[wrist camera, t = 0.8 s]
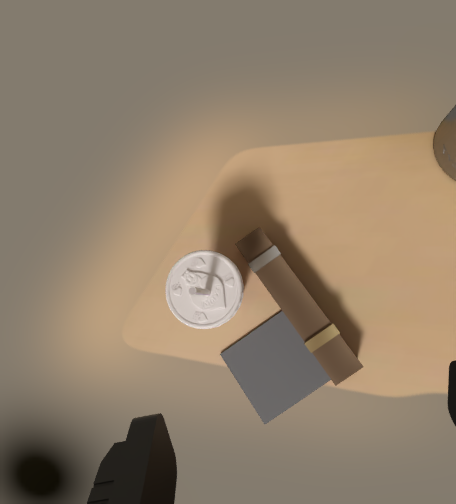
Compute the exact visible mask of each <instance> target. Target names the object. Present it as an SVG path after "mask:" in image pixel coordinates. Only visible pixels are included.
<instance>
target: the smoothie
mask: <svg viewBox="0 0 456 504" xmlns="http://www.w3.org/2000/svg"><path fill="white" fill-rule="evenodd" d="M243 291H244V284H243V280H242V276H241V273H240V272H239V270H238V268H237V266H236V265H235V264H234V263H233V262H232V261H231V260H230V259H229V258H228V257H226V256H224V255H223V254H221V253H217V252H214V251H210V250H199V251H194V252H191V253H189V254H187V255H185V256H184V257H182V258H181V259H180V260H178V261H177V262H176V264H175V265H174V266H173V268H172V269H171V271H170V273H169V275H168V278H167V282H166V299H167V302H168V305H169V308H170V309H171V311H172V313H173V314H174V315H175V317H176V318H177V319H178V320H180V321H181V322H182V323H184V324H186V325H188V326H190V327H193V328H198V329H210V328H214V327H219V326H220V325H222V324H224V323H226V322H228V321H229V320H230V319H231V318H232V317H233V316H234V315H235V314H236V312H237V310H238V309H239V307H240V305H241V302H242V298H243Z"/></svg>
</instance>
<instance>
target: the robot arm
mask: <svg viewBox="0 0 456 504" xmlns="http://www.w3.org/2000/svg"><path fill="white" fill-rule="evenodd" d="M433 148H434V153H435V157H436V159H437V161H438V164H439V165H440V167H441V168H442V169H443V171H444V172H445V173H446V174H447V175H449V176H450V177H451V178H452V179H454V180H455V181H456V105H455V107H454V108H453V109H452V110H451V111H450V113H449V114H448V115H447V116H446V117H445V118H444V120H443V121H442V122H441V124H440V126H439V127H438V129H437V131H436V134H435V137H434V147H433ZM448 410H449V413H450V416H451V418H452V420H453V422H454V424H455V426H456V361H452V362H451V363H450V366H449V385H448ZM176 479H177V465H176V457H175V453H174V449H173V446H172V443H171V440H170V437H169V434H168V430H167V427H166V424H165V421H164V418H163V416H162V414H161V413H160V414H155V415H149V416H143V417H138V418H134V419H133V420H132V422H131V425H130V428H129V431H128V435H127V438H126V441H123V442H118V443H114V445H113V446H112V448H111V449H110V451H109V452H108V453H107V455H106V456H105V457H104V459H103V460H102V462H101V464H100V467H99V470H98V472H97V475H96V478H95V481H94V488H92V490H91V493H90V496H89V498H88V502H87V504H174V500H175V490H176Z"/></svg>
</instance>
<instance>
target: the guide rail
mask: <svg viewBox="0 0 456 504" xmlns="http://www.w3.org/2000/svg"><path fill="white" fill-rule="evenodd" d="M235 245H236V246H237V248H238V249H239V250H240V252H241V253H242V255H243V256H244V257H245V259H246V260H247V262H248V263H249V264H248V265H249V266H250V268H251V269H252V271H253V272H254V273H256V274H257V276H258V277H259V278H260V280H261V281H262V283H263V284H264V286H265V287H266V288H267V290H268V291H269V293H270V294H271V295H272V297H273V298H274V300H275V301H276V302H277V304H278V305H279V307H280V308H281V309H282V311H283V312H284V314H285V315H286V317H287V318H288V319H289V321H290V322H291V324H292V325H293V326H294V328H295V329H296V331H297V332H298V333H299V335H300V336H301V338H302V339H303V340H304V342H305V343H304V344H305V345H306V347H307V348H308V350H309V351H310V352H311V353H313V355H314V356H315V357H316V359H317V360H318V362H319V363H320V364H321V366H322V367H323V369H324V370H325V371H326V373H327V374H328V376H329V377H330V378H331V380H332V381H333V383H334V384H335V386H336V385H337V384H339V383H340V382H342V381H343V380H345V379H346V378H348V377H349V376H351V375H352V374H354V373H355V372H357V371H358V370H360V369H361V368H363V365H362V364H361V363H360V361H359V360H358V359H357V357H356V356H355V355H354V353H353V352H352V351H351V349H350V348H349V347H348V345H347V344H346V343H345V341H344V340H343V339H342V337H341V336H340V332H339V331H338V329H337V328H336V327H335V325H334V324H331V322H330V321H329V320H328V318H327V317H326V316H325V314H324V313H323V312H322V310H321V309H320V308H319V306H318V305H317V303H316V302H315V301H314V299H313V298H312V297H311V295H310V294H309V293H308V291H307V290H306V289H305V287H304V286H303V285H302V283H301V282H300V281H299V279H298V278H297V277H296V275H295V274H294V273H293V271H292V270H291V268H290V267H289V266H288V264H287V263H286V262H285V260H284V259H283V258H282V256H281V255H280V254H281V253H280V251H279V250H278V249H277V247H276V246H275V245H274V246H273V244H272V243H271V242H270V240H269V239H268V237H267V236H266V235H265V233H264V232H263V231H262V229H261V228H260V227H258V228H257V229H256V230H254V231H253V232H251V233H250V234H249V235H247V236H246V237H244V238H243V239H242V240H240V241H239V242H237V243H236V244H235Z"/></svg>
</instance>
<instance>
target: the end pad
mask: <svg viewBox="0 0 456 504" xmlns="http://www.w3.org/2000/svg"><path fill="white" fill-rule="evenodd" d="M304 343H305V342H304V340H303V339H302V338H301V336H300V335H299V333H298V332H297V331H296V329H295V328H294V326H293V325H292V324H291V322H290V321H289V319H288V318H287V317H286V315H285V314H284V312H283V311H281V312H280V313H278V314H277V315H276V316H274V317H273V318H271V319H270V320H268V321H267V322H266V323H264V324H263V325H261V326H260V327H258V328H257V329H256V330H254V331H253V332H251V333H250V334H248V335H247V336H246V337H244V338H243V339H241V340H240V341H238V342H237V343H235V344H234V345H233V346H231V347H230V348H228V349H227V350H225V351H224V352H223V353H221V354H220V355H221V356H222V358H223V360H224V361H225V363H226V364H227V366H228V367H229V369H230V371H231V372H232V374H233V375H234V377H235V378H236V380H237V381H238V383H239V385H240V386H241V388H242V389H243V391H244V393H245V394H246V396H247V397H248V399H249V400H250V402H251V404H252V405H253V407H254V408H255V410H256V411H257V413H258V415H259V416H260V418H261V419H262V421H263V422H264V424H266V423H268V422H269V421H271V420H272V419H274V418H275V417H277V416H278V415H280V414H281V413H283V412H284V411H286V410H287V409H288V408H290V407H291V406H293V405H294V404H296V403H297V402H299V401H300V400H302V399H303V398H305V397H306V396H308V395H309V394H311V393H312V392H314V391H315V390H317V389H318V388H319V387H321V386H322V385H324V384H325V383H327V382H328V381H330V380H331V378H330V377H329V376H328V374H327V373H326V371H325V370H324V369H323V367H322V366H321V364H320V363H319V362H318V360H317V359H316V357H315V356H314V355H313V353H311V352H310V351H309V350H308V348H307V347H306V345H305V344H304Z"/></svg>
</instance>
